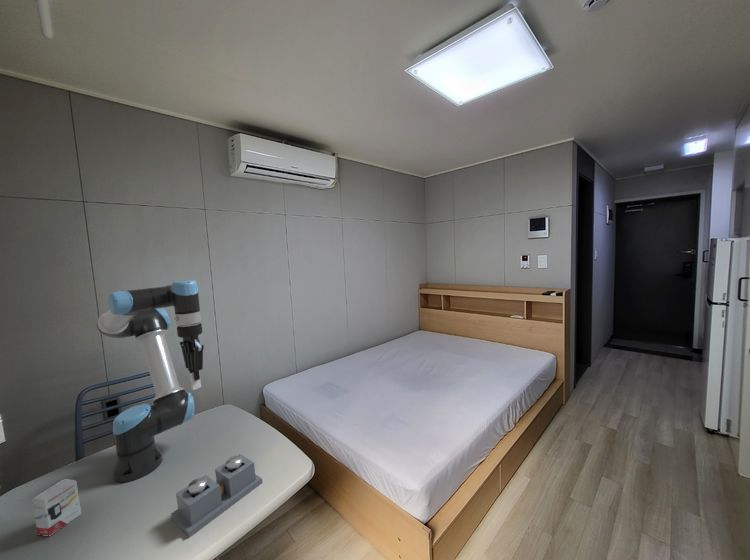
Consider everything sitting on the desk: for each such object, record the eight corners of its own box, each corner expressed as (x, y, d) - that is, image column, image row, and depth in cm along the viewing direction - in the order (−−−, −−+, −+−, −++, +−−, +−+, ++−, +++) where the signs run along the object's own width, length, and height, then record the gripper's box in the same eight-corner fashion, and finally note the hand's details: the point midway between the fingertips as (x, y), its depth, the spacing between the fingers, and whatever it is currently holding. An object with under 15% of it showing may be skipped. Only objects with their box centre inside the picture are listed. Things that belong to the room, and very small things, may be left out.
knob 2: (225, 483, 104) (223, 462, 103) (239, 474, 108) (236, 453, 107) (233, 489, 101) (230, 467, 100) (247, 480, 105) (244, 458, 104)
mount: (171, 518, 93) (168, 494, 92) (243, 470, 113) (241, 450, 112) (189, 537, 86) (186, 512, 86) (262, 482, 106) (260, 461, 105)
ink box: (49, 537, 89) (42, 501, 88) (37, 535, 90) (30, 499, 89) (82, 513, 97) (76, 479, 96) (70, 511, 98) (65, 477, 97)
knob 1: (188, 509, 94) (185, 485, 93) (204, 498, 98) (201, 475, 97) (195, 516, 91) (192, 492, 90) (212, 504, 95) (209, 481, 94)
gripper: (169, 324, 106) (176, 388, 109) (186, 328, 99) (193, 396, 101) (191, 320, 112) (198, 380, 115) (209, 323, 105) (216, 388, 107)
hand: (196, 388), depth 108 cm, fingers closed
